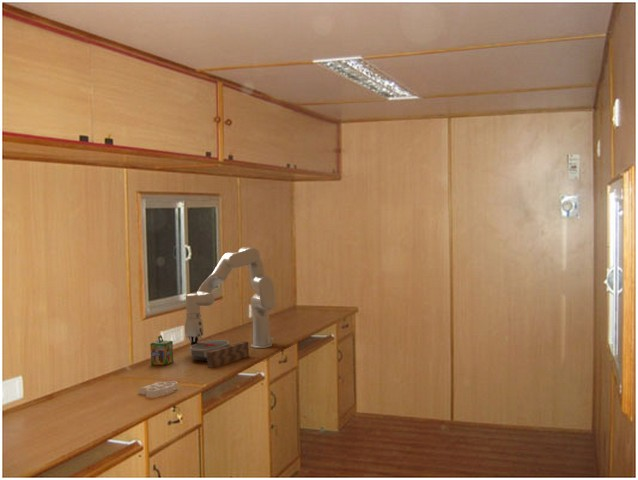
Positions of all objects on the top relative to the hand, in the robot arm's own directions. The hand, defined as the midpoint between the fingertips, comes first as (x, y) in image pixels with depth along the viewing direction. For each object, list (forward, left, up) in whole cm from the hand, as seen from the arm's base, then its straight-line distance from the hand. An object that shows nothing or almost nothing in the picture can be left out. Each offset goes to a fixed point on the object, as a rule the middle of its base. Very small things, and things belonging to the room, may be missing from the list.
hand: (194, 348), depth 383 cm
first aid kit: (0, +12, -4) cm, 12 cm away
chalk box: (+22, -2, -4) cm, 23 cm away
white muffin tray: (+63, +38, -5) cm, 74 cm away
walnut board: (+2, +27, -4) cm, 27 cm away
